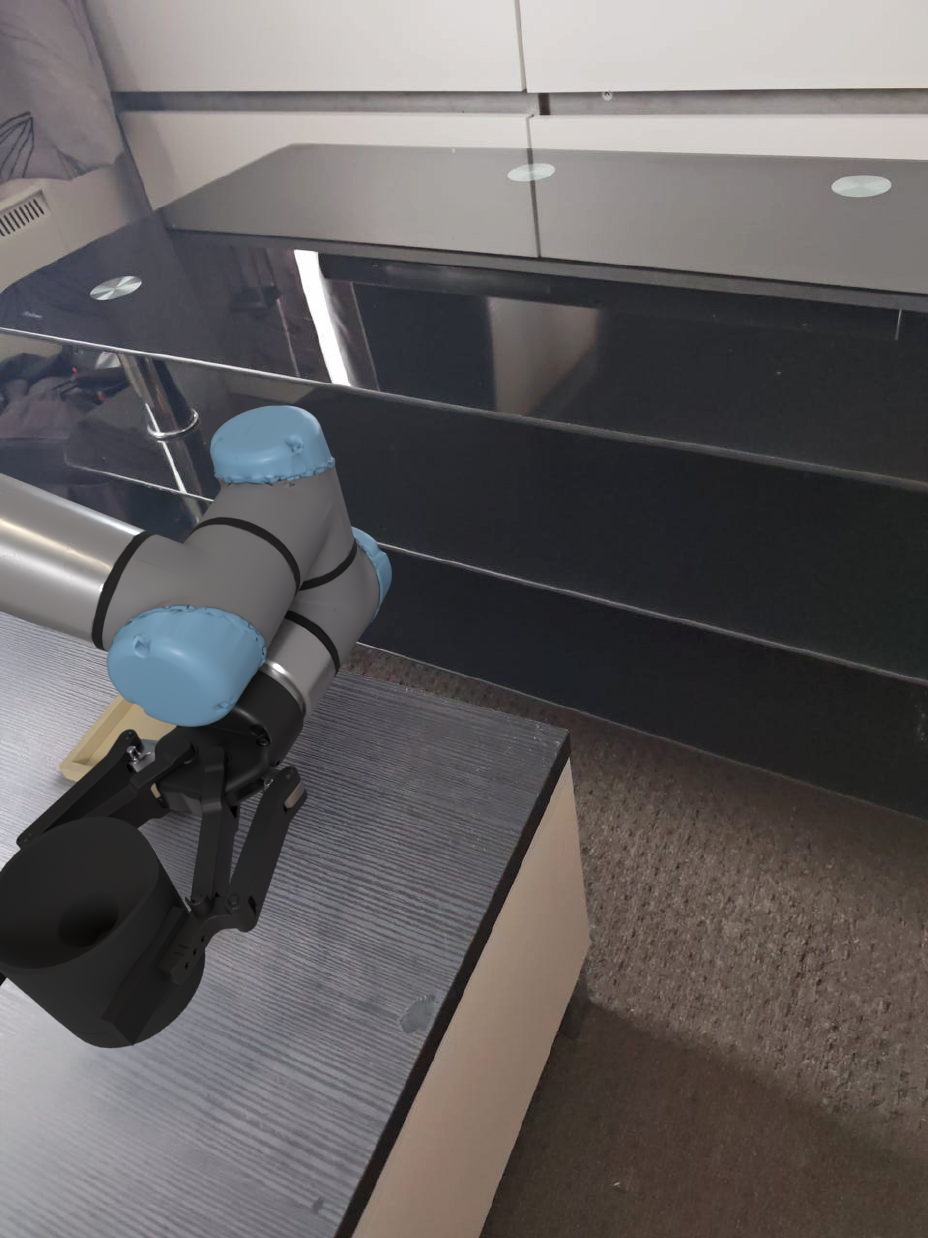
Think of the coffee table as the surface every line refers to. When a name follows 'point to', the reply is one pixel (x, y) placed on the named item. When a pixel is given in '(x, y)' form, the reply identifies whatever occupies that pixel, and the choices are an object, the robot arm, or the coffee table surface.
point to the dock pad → (111, 737)
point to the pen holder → (87, 923)
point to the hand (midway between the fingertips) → (45, 1005)
